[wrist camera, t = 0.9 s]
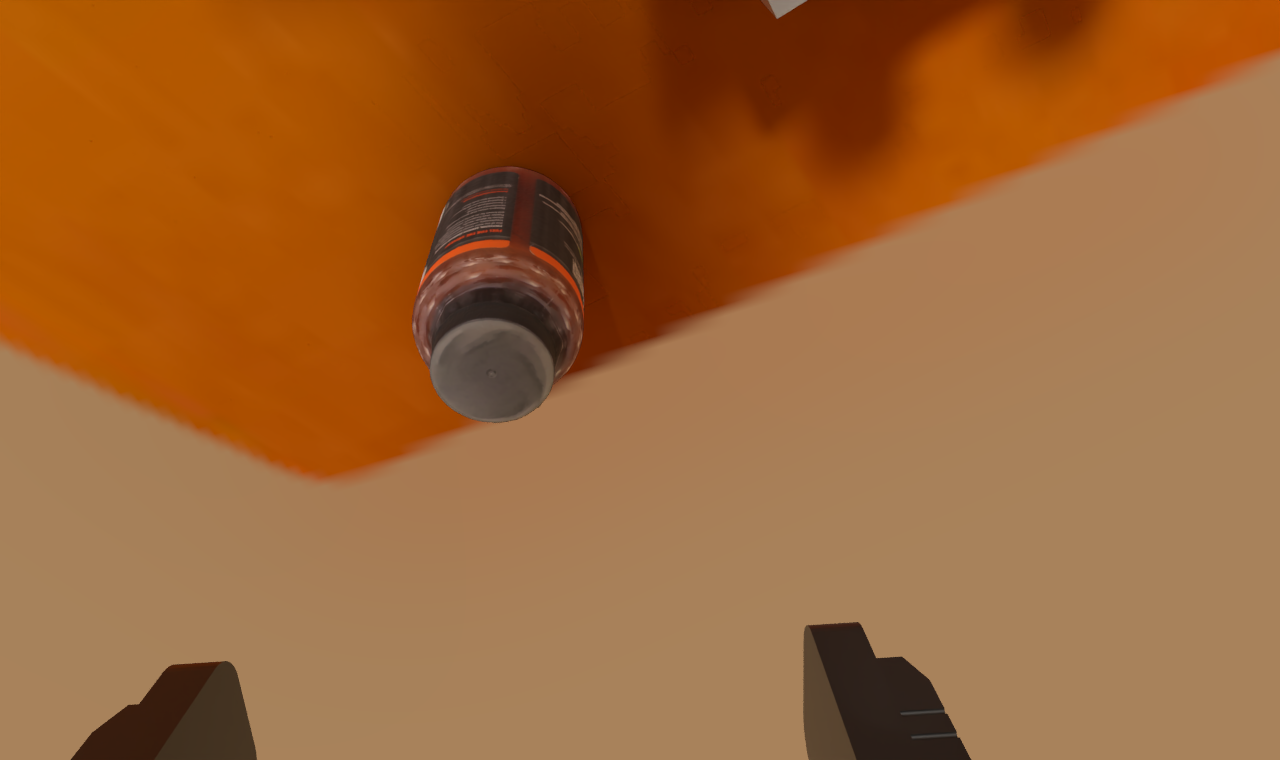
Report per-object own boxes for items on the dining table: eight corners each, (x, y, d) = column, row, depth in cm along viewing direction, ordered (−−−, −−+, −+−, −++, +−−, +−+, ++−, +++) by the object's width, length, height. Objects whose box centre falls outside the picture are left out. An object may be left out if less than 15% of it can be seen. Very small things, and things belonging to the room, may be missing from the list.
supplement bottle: (412, 234, 38) (355, 380, 28) (501, 131, 36) (471, 251, 26) (523, 317, 40) (504, 476, 31) (612, 224, 38) (622, 365, 28)
